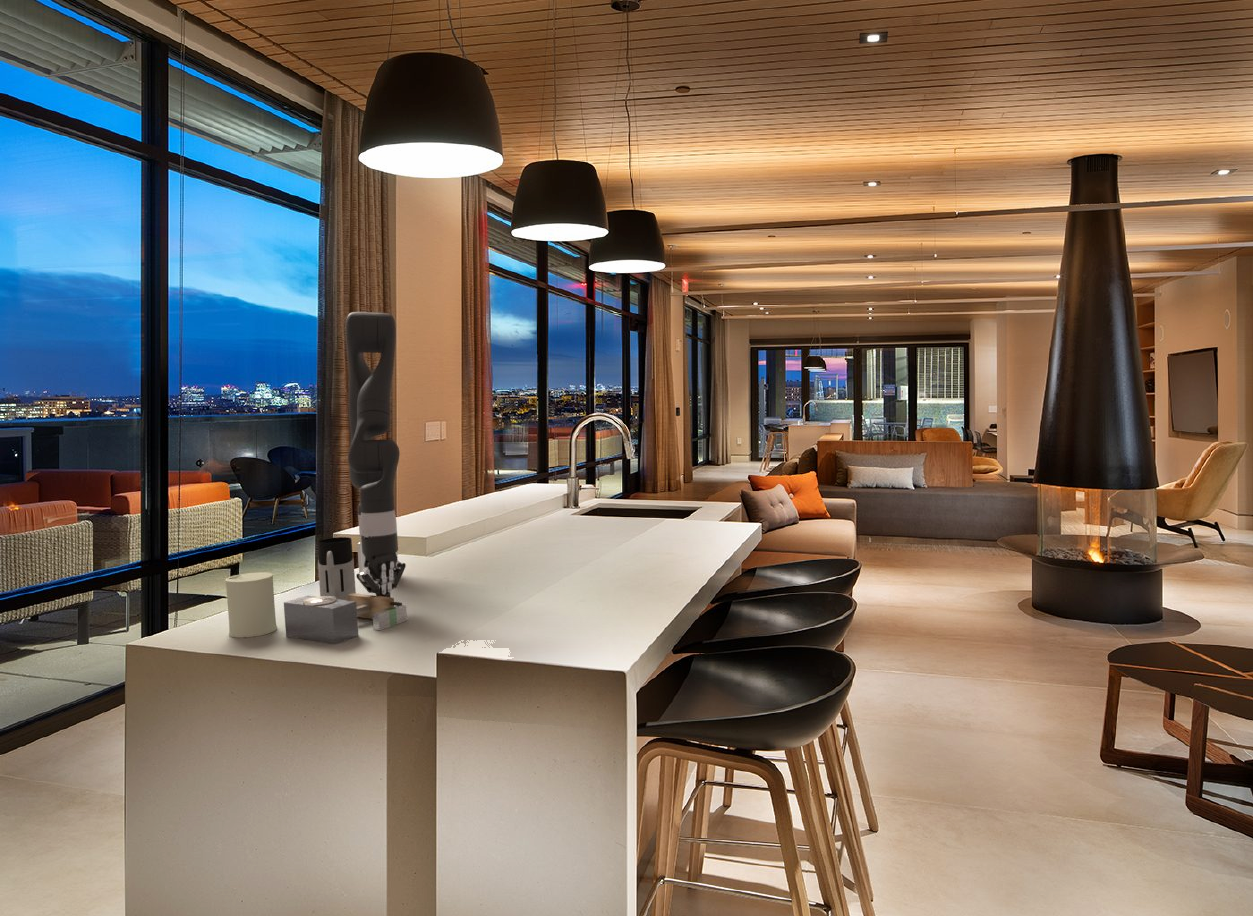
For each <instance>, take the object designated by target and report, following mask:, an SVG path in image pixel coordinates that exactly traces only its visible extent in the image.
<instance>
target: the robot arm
mask: <svg viewBox="0 0 1253 916" xmlns="http://www.w3.org/2000/svg"><path fill="white" fill-rule="evenodd" d="M396 326H397V324H396V320H395V317H394V316H393V315H392V314H390V313H388V312H387V313H386V312H369V311H368V312H366V311H355V312H354V311H353V312H350V313H348V314H347V317H346V320H345V326H344V327H345V328H344V330H345V331H344V332H345V344H346V345H345V346H346V353H347V354H346V355H347V365H348V367H347V368H348V415H349V416H348V417H349V431H350V432H349V433H350V434H349V435H350V443H349V449H348V454H347V462H348V465H349V467H348V471H349V473H348V474H349V479H350V483H351V485H352V486H353V487H354V488H355V489H359V504H358V506H357V517H358V531H359V532H358V533H359V542H357V544H356V545H357V556H358V557H357V558H358V559H357V560H358V572H357V573H356V576H355V578H356V579H357V580H358V581H359V582H360V583H361V585H362V586H363V588H365V590H366V591H367V592H368V593H371V594H374V595H375V596H382V597H391V593H392V591H393V590H394V589H396V588H398V585H399V583H400V581H401V578H402V576H403V573H404V571H405V569H406V567H407V564H406V563H405V562H400V561H399V559H398V551H399V540H398V526H397V525H398V523H397V515H396V511H395V500H394V499H395V497H394V495H395V494H394V485H395V479H396V473H397V469H398V464H399V461H400V455H401V454H400V449H399V446H398V444H397V443H396V442H395V441H394V440H393V439H387V438H386V439H374V438H375V437H377V436H381V435H384V434H386V433H388V432H389V430H390V428H391V392H392V391H391V390H392V381H393V374H394V365H395V357H396V355H395V354H396V342H397V328H396ZM363 353H366V354H370V353H372V354H380V358H379V361H378V364H376V367H375V368H374V370H373V371H372V369H370V367H369V366H368V364H367V362H366V360H365V357H364V354H363ZM391 598H392V597H391Z"/></svg>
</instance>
